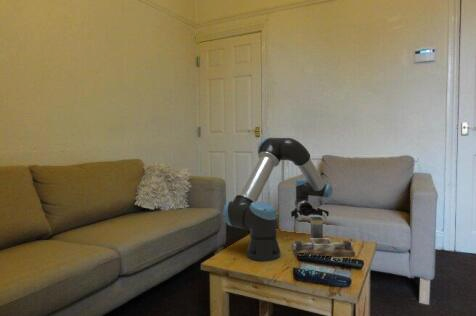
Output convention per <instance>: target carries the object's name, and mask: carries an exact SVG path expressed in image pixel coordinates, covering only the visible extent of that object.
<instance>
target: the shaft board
mask: <svg viewBox="0 0 476 316" xmlns="http://www.w3.org/2000/svg"><path fill="white" fill-rule="evenodd" d="M353 249H354V244H353V243H352V242H351V241H350V240H343V242H336V241H335V242H333V240H332V239H330V238H327V237H326V238H325V237H323V238H311V237H310V238H309V242H303V243H302V241H301V240H295V243H291V250H292V252H293V255H294V257H295V258H298V257H297V255H298V254H299V253H308V254H315V255H325V256H332V257H331V258H333V257H340V258H341V257H342V258H344V257H345V258H347V257H351V258H352V257H355V256H356V255H355V254H356V251H354V250H353Z"/></svg>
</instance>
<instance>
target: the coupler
mask: <svg viewBox="0 0 476 316" xmlns="http://www.w3.org/2000/svg"><path fill="white" fill-rule="evenodd" d="M323 225H324V218H323V217H322V216H310V238H324V231H323V230H324V226H323Z"/></svg>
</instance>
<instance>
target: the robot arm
mask: <svg viewBox="0 0 476 316" xmlns="http://www.w3.org/2000/svg"><path fill="white" fill-rule="evenodd" d="M257 154H258V160H257V163H256V165H255V167H254V168H253V170H252V172H251V174H250V176H249V178H248V179H247V181H246V183H245V185H244V187H243V188H242V190H241V192H240V193H239V194H237V195H235V197H234V199H233V200H229V201H227V202H226V203H225V204H224V206H223V211H222V214H223V220H224V222H225V223H226V224H227V226H230V227H233V228H238V229H243V230H249V231H250V233H249V234H250V237H249V242H248V245H247V249H246V257H247V258H248V259H251V260H254V261H257V262H269V261H270V262H271V261H275V260H278V259H279V258H280V257H281V248H280V246H279V243H278V238H277V217H278V215H277V209H276V206H274V205H273V204H272V203H269V202H265V201H258V199H259V197H260V195H261V194H262V191H263V189H264V187H265V186H266V183H267V182H268V180H269V178H270V176H271V174H272V172H273V170H274V168H275V167H278V166H279V164H280V162H281V161H290V162H292V163H293V164H294V165H295V166H297V167H298V168H299V170H300V172H301V173H302V175H303V176H304V177H305V178H297V179H296V180H295V201H294V205H295V208H294V209H293V210H292V211H291V213H290V215H291V217H292V218H293V217H294V219H298V221H301V218H302V217H301V216H304V217H308V216H311V215H312V216H319V217H321V218H322V219H323V220H325V221H327V220H328V217H329V215H330V213H329V212H330V211H328V210H326V209H323V208H320V207H316V208H314V207H313V205H312V204H311V203H310V202H309V196H310V197H321V198H330V197H332V195H333V187H332V185H331V184H328V183H325V181H324V180H323V178H322V176H321V175H320V173H319V171H318V169H317V167H316V166H315V164H314V163H313V161H312V159H311V154H310V152H309V150H308V149H307V148H306V146H305V145H303V144H302V143H301V142H300V141H298V140H296V139H294V138H291V137H265V138H263V139H262V140H261V141H260V142H259V144H258V146H257Z"/></svg>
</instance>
